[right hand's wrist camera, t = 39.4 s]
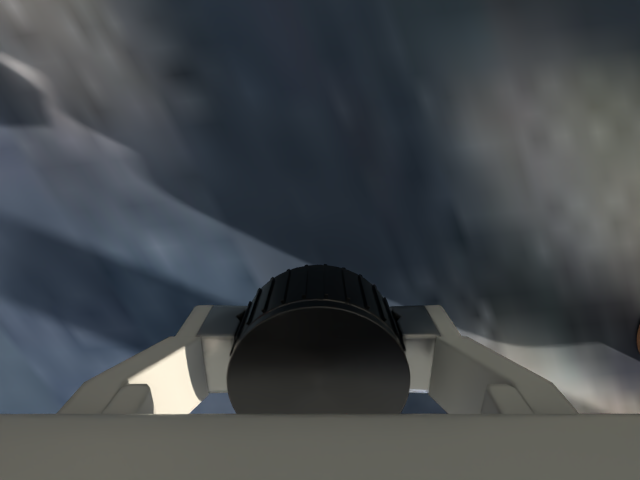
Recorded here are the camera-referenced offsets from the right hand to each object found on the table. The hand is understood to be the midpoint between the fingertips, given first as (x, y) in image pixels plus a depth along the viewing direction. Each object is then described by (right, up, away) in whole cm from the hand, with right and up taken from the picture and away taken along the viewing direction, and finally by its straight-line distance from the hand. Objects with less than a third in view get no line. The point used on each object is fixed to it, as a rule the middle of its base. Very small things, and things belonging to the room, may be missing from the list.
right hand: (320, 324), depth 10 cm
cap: (0, -1, -2) cm, 2 cm away
